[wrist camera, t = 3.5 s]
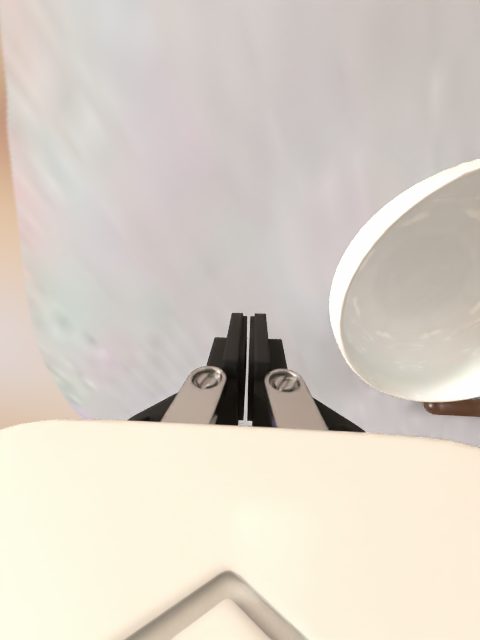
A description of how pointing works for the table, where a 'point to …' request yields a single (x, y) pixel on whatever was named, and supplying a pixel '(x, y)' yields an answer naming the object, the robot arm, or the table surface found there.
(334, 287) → the cereal bowl
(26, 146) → the table surface
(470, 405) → the wooden spoon
